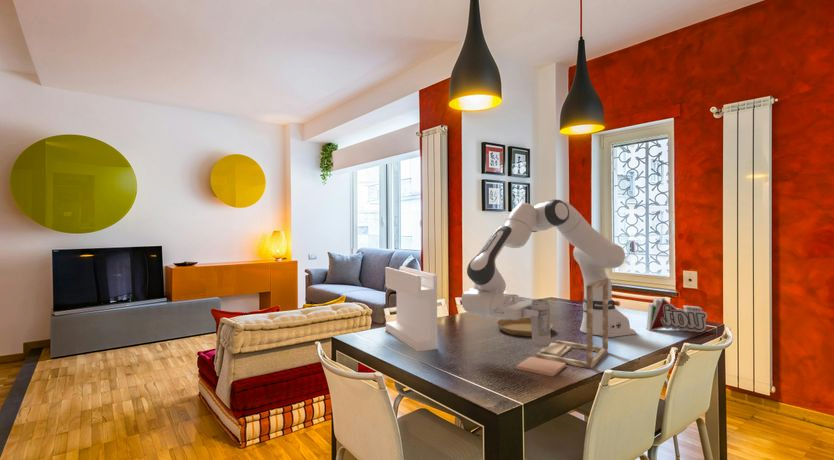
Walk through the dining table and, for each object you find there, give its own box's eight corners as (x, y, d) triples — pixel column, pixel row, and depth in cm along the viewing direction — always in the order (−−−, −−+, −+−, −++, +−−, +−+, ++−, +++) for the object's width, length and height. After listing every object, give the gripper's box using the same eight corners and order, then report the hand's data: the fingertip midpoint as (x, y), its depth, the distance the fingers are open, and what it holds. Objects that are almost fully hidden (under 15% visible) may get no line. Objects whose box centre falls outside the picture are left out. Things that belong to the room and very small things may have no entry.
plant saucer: (536, 341, 175) (536, 333, 175) (486, 331, 192) (486, 323, 192) (562, 330, 193) (562, 323, 193) (514, 322, 209) (514, 315, 209)
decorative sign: (701, 335, 191) (705, 301, 191) (704, 337, 189) (708, 302, 188) (646, 329, 193) (649, 295, 193) (648, 330, 191) (652, 296, 190)
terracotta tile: (565, 366, 144) (565, 363, 144) (552, 376, 135) (552, 373, 135) (530, 359, 151) (530, 356, 151) (516, 368, 142) (516, 365, 142)
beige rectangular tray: (570, 348, 164) (570, 344, 164) (557, 358, 152) (557, 354, 152) (551, 345, 168) (551, 341, 168) (536, 355, 156) (537, 350, 156)
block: (437, 349, 164) (437, 274, 164) (417, 351, 161) (417, 275, 161) (402, 328, 196) (402, 266, 196) (385, 330, 193) (385, 267, 193)
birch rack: (607, 352, 160) (608, 278, 159) (591, 368, 142) (591, 285, 141) (556, 343, 171) (557, 274, 170) (535, 358, 153) (535, 281, 153)
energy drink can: (545, 342, 148) (543, 297, 148) (554, 346, 142) (552, 300, 142) (528, 344, 146) (526, 299, 146) (537, 348, 140) (535, 302, 140)
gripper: (490, 301, 143) (530, 307, 135) (516, 293, 159) (553, 298, 151) (490, 321, 143) (530, 327, 135) (516, 311, 160) (553, 316, 151)
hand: (542, 311), depth 143 cm, fingers closed on energy drink can, 6 cm apart
